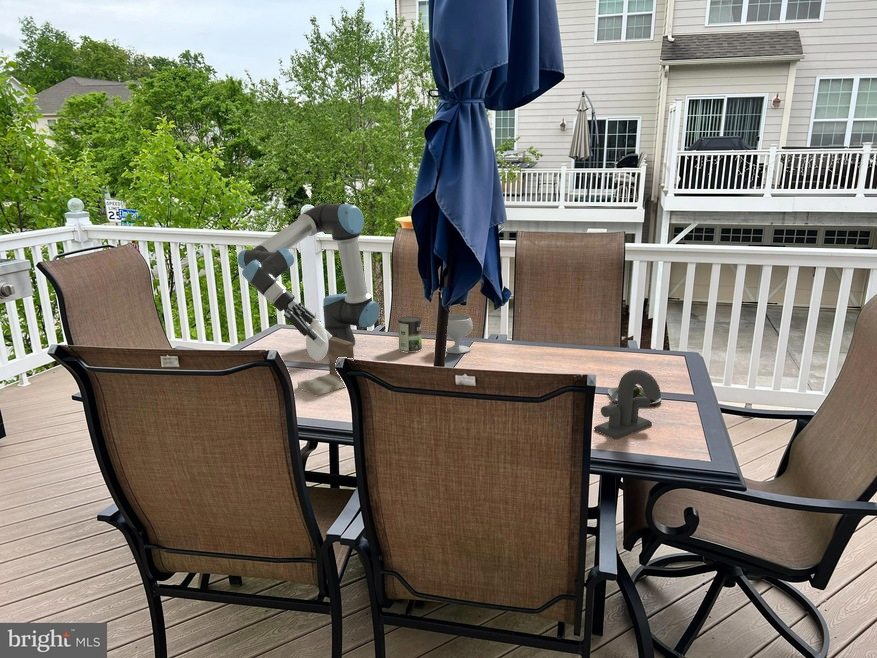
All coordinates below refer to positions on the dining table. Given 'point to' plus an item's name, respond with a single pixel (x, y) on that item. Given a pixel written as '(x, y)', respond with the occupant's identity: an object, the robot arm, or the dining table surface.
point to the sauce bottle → (311, 346)
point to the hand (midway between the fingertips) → (326, 341)
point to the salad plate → (636, 393)
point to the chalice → (458, 332)
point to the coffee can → (410, 334)
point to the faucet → (629, 405)
